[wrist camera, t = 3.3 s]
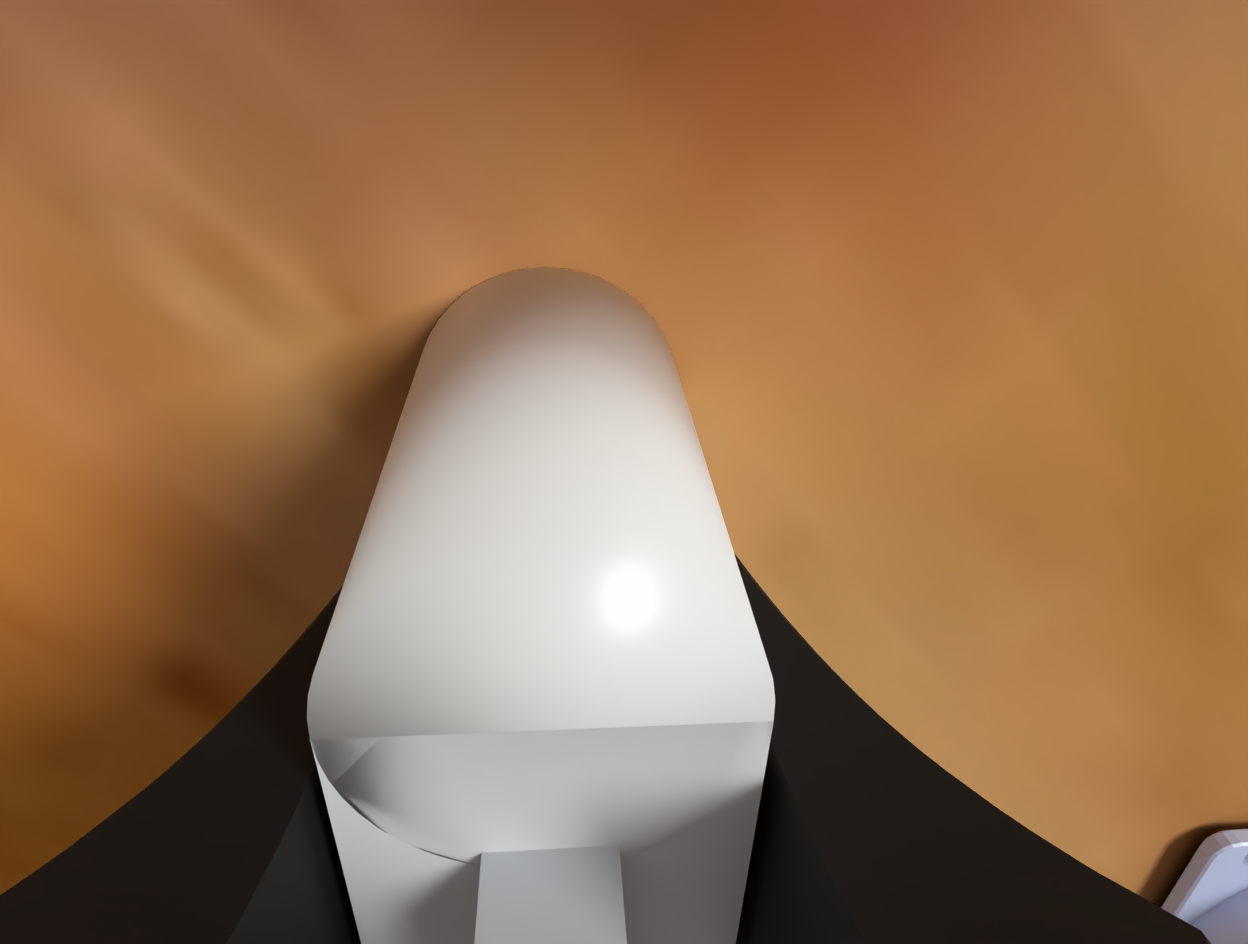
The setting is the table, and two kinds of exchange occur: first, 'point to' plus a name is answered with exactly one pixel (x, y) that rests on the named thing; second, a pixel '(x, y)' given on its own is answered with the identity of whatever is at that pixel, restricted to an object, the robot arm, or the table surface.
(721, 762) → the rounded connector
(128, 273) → the table surface
